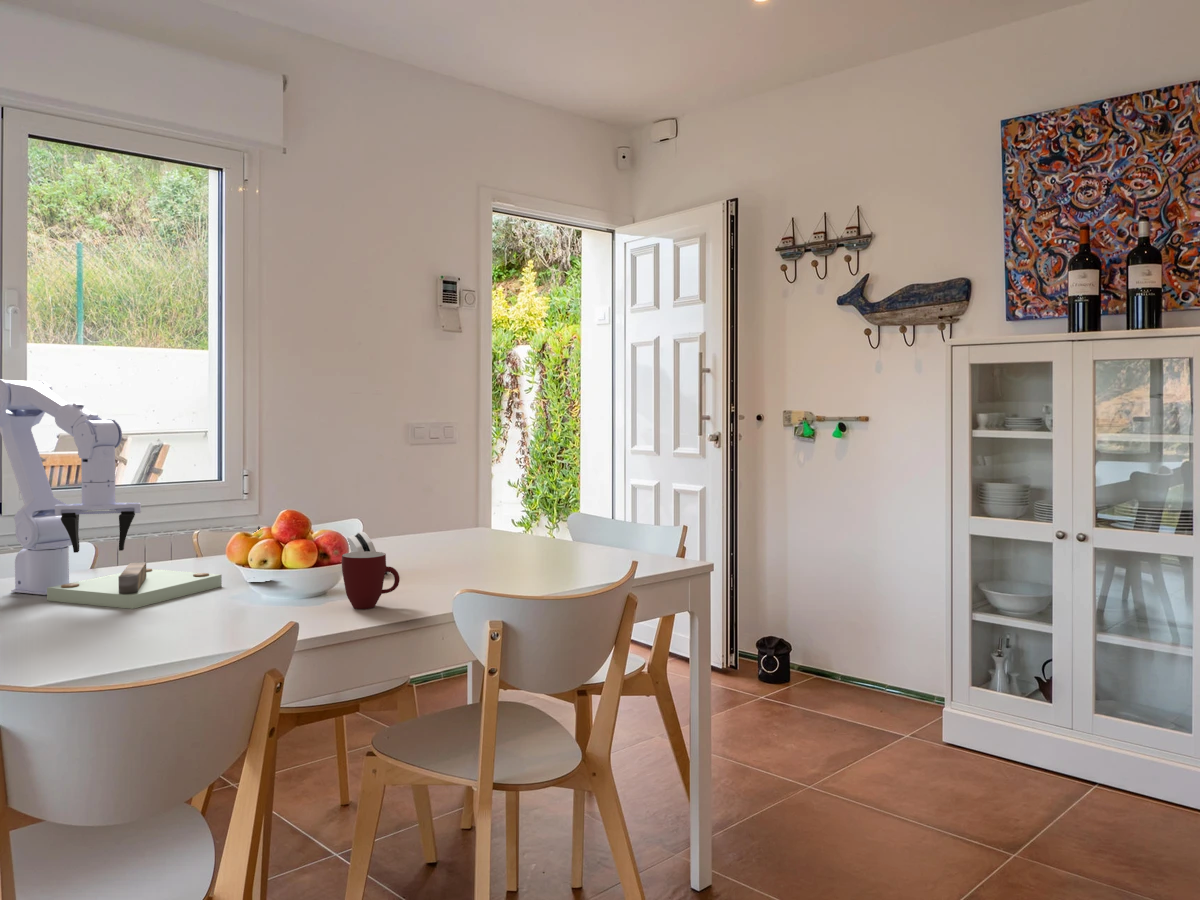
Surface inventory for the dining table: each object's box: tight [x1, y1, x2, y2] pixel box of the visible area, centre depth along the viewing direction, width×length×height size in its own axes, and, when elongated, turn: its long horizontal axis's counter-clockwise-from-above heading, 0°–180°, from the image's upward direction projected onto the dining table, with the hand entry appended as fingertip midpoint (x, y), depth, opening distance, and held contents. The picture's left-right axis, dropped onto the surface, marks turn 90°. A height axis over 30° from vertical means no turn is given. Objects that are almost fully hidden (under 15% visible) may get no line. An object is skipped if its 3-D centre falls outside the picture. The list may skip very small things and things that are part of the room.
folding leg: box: [119, 561, 147, 594], centre depth 171 cm, size 18×3×3 cm, turn 22°
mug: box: [341, 551, 401, 610], centre depth 166 cm, size 10×8×10 cm
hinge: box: [346, 531, 391, 575], centre depth 206 cm, size 17×5×10 cm, turn 25°
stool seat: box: [46, 568, 223, 610], centre depth 177 cm, size 21×23×3 cm
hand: (99, 550), depth 171 cm, fingers open, 7 cm apart
